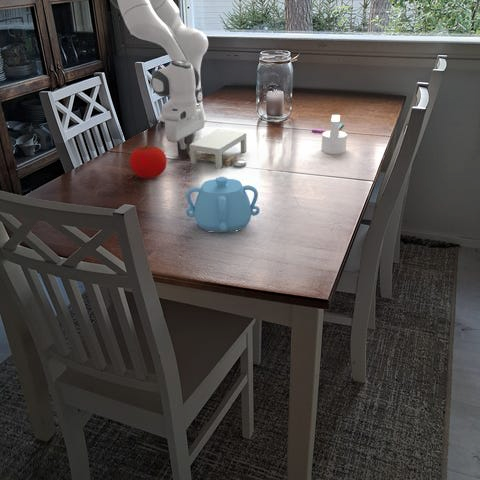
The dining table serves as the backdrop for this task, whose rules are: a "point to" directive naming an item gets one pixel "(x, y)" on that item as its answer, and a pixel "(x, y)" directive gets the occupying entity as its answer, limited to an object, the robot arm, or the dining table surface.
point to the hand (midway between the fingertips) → (187, 146)
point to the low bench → (217, 144)
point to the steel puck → (239, 162)
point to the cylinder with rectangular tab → (334, 138)
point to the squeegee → (324, 131)
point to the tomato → (148, 161)
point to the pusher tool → (202, 155)
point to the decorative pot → (222, 205)
